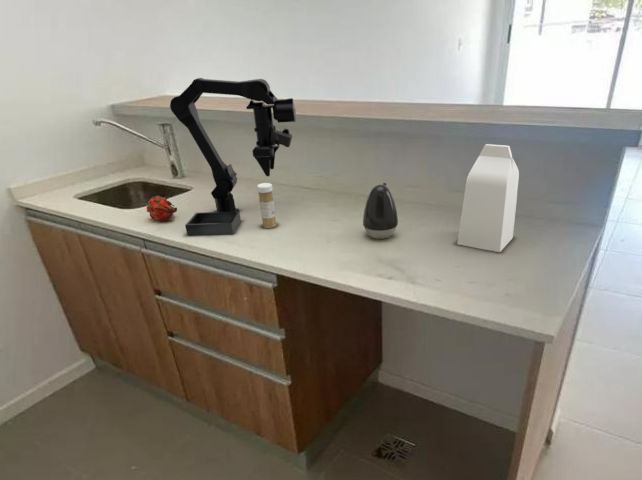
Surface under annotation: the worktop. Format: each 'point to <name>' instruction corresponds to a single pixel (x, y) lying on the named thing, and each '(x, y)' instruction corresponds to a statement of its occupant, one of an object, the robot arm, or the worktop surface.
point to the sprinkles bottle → (267, 205)
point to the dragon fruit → (160, 208)
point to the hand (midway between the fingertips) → (270, 172)
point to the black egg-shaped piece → (380, 213)
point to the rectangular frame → (213, 223)
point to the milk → (490, 200)
